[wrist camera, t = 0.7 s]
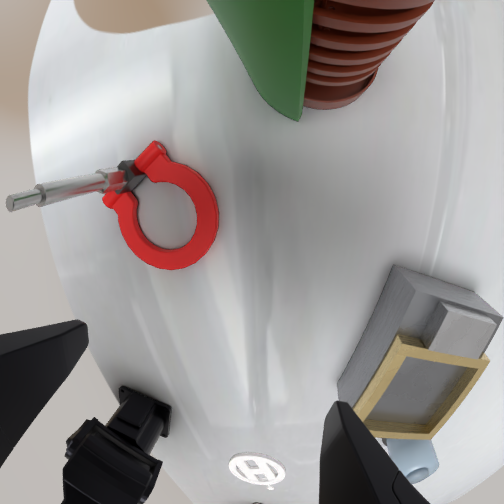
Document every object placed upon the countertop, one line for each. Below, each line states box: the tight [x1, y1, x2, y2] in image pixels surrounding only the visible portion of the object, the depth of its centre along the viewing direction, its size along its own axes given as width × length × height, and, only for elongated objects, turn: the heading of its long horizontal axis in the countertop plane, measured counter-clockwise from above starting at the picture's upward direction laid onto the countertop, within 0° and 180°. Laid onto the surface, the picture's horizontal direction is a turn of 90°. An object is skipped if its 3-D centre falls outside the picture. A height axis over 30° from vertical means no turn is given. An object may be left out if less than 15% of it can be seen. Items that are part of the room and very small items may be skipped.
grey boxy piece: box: [337, 265, 503, 440], centre depth 19 cm, size 15×9×6 cm, turn 166°
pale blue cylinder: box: [382, 438, 439, 484], centre depth 21 cm, size 6×6×7 cm
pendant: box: [229, 452, 286, 490], centre depth 30 cm, size 7×11×1 cm, turn 21°
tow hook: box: [6, 140, 219, 270], centre depth 16 cm, size 8×13×9 cm
